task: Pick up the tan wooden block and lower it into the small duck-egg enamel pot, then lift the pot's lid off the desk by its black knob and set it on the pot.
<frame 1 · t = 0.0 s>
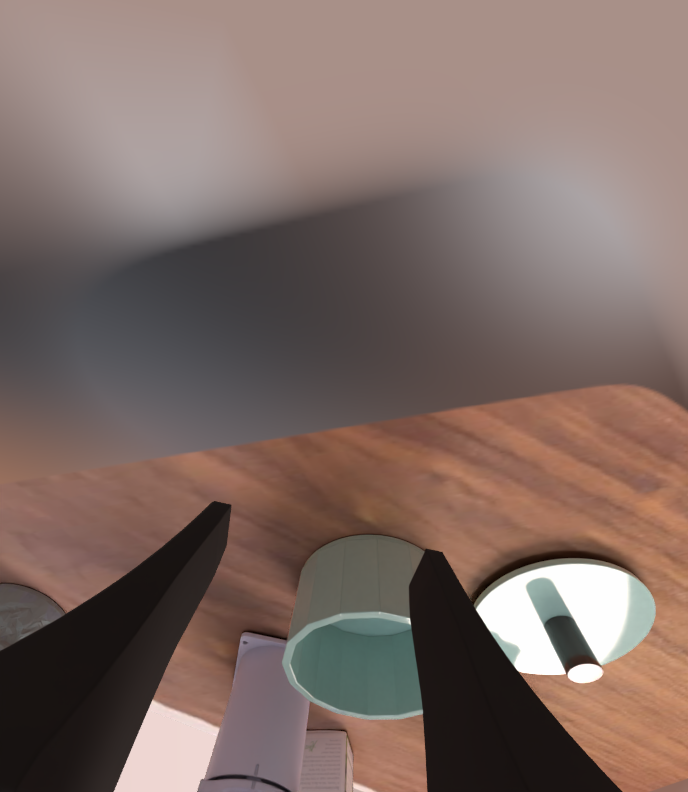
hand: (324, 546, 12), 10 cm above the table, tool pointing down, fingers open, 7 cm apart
drinking glass: (28, 612, 32), on the table
pot: (371, 588, 27), on the table
syrup box: (327, 739, 38), on the table
lid: (556, 618, 26), point 1 cm above the table
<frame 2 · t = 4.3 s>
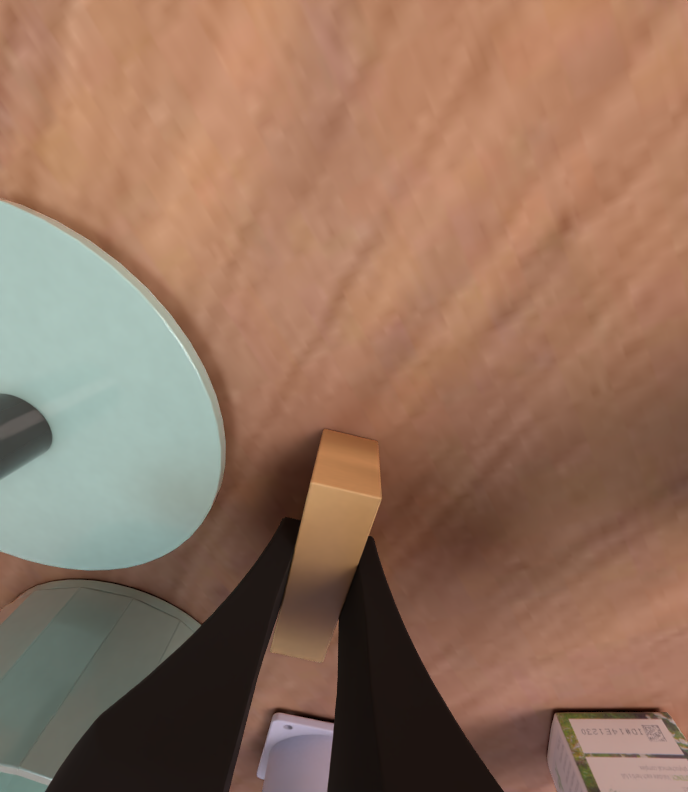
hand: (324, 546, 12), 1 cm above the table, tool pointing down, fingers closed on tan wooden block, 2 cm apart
tan wooden block: (327, 517, 13), on the table, touching gripper
pot: (120, 655, 18), on the table
syrup box: (598, 729, 18), on the table
lid: (31, 418, 11), point 1 cm above the table
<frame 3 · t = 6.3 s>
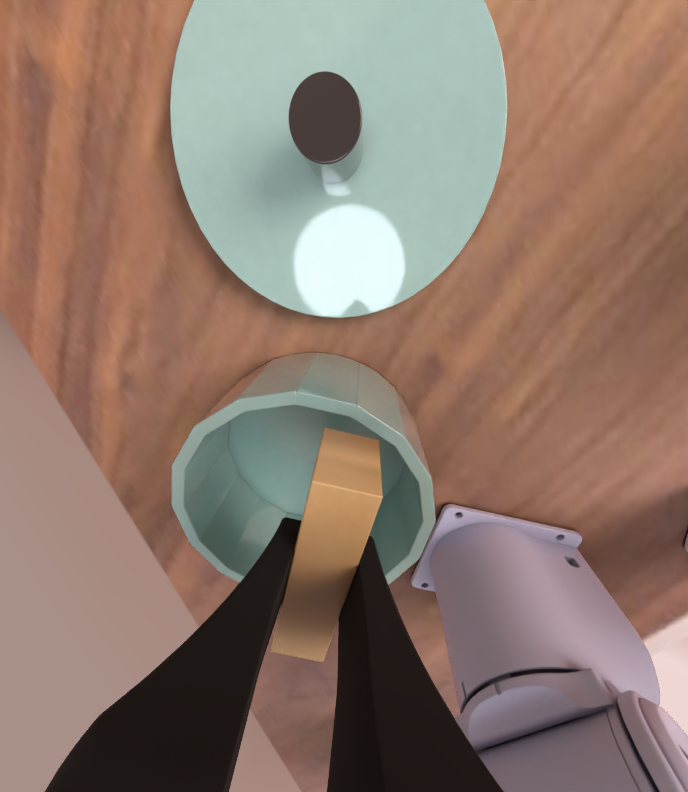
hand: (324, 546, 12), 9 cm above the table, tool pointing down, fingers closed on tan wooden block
tan wooden block: (328, 516, 13), point 7 cm above the table, touching gripper
pot: (318, 445, 21), on the table
lid: (335, 153, 14), point 1 cm above the table
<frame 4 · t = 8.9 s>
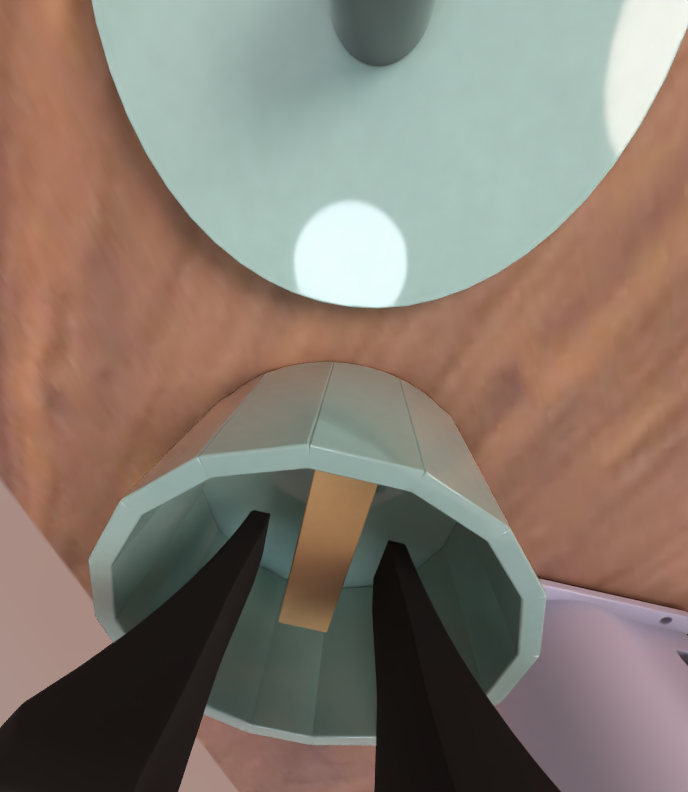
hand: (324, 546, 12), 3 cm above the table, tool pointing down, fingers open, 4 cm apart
tan wooden block: (331, 499, 14), resting on pot
pot: (331, 492, 14), on the table
lid: (381, 12, 8), point 1 cm above the table
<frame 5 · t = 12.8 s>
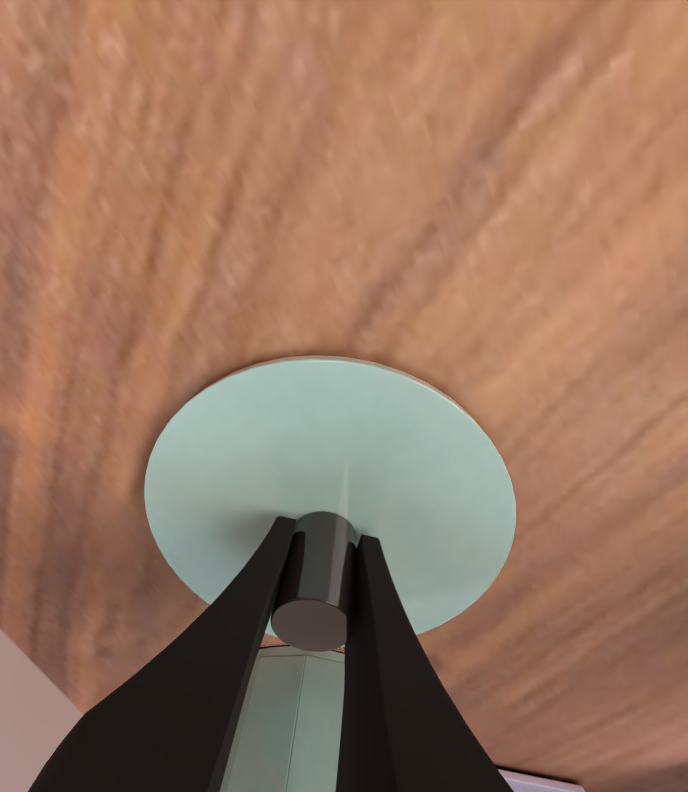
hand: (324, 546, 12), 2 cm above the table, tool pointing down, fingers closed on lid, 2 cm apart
pot: (308, 708, 19), on the table
lid: (326, 525, 13), point 1 cm above the table, touching gripper
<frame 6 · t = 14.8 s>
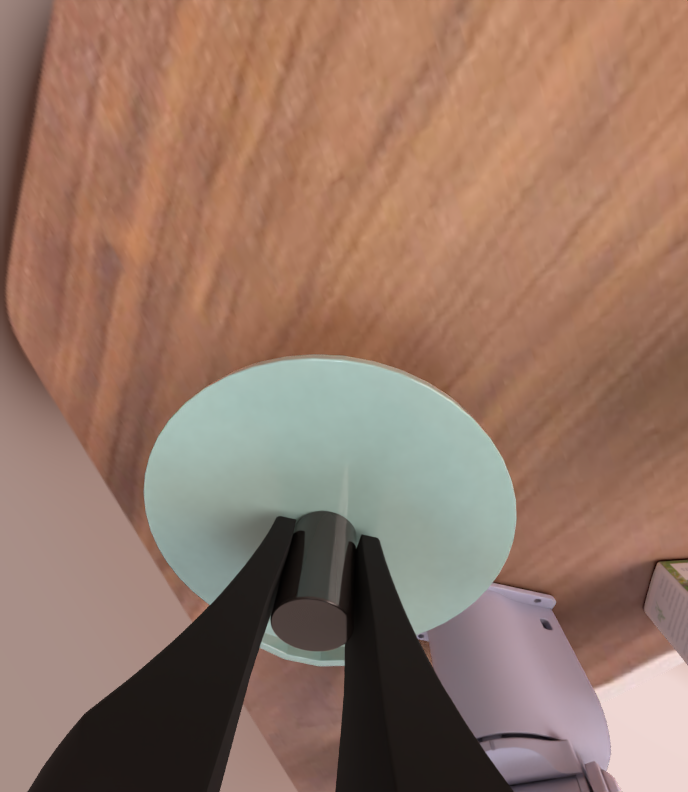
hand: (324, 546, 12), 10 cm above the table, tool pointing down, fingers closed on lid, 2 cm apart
pot: (330, 524, 24), on the table
syrup box: (686, 580, 24), on the table
lid: (326, 524, 13), point 9 cm above the table, touching gripper
when the fingers open (7 cm above the table, at t = 17.0 s): lid stays where it is, resting on pot.
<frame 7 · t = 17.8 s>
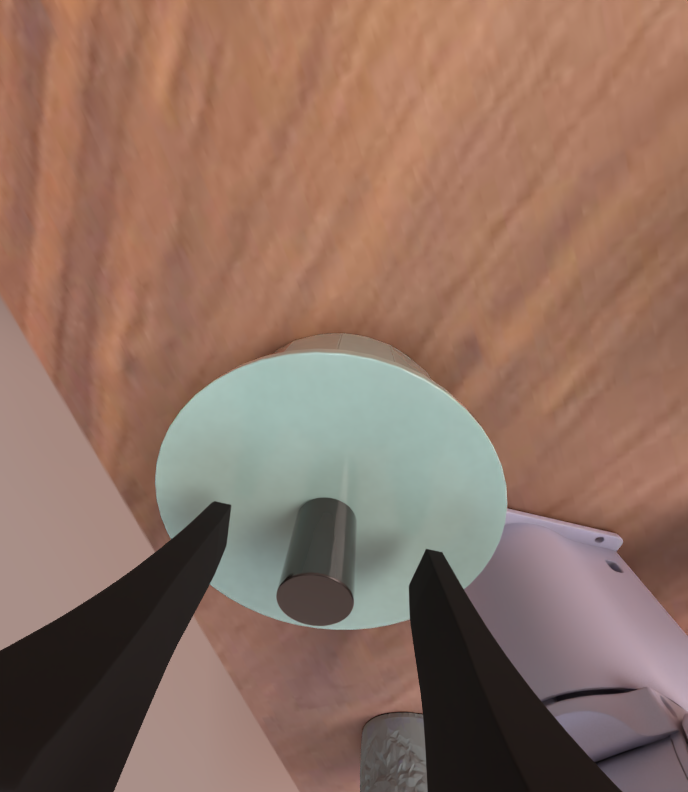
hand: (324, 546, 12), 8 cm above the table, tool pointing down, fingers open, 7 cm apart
drinking glass: (407, 732, 32), on the table
pot: (339, 437, 19), on the table
lid: (327, 511, 13), point 6 cm above the table, touching pot
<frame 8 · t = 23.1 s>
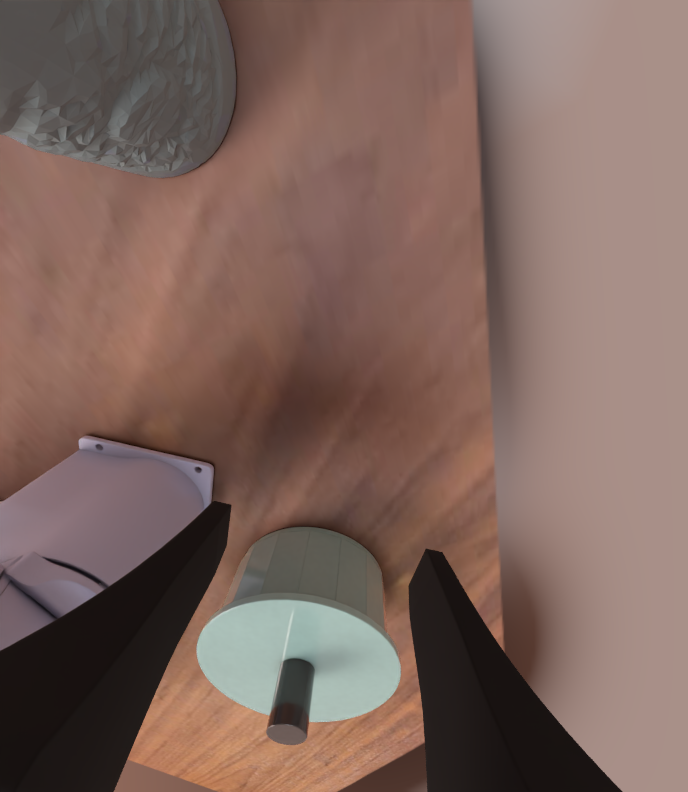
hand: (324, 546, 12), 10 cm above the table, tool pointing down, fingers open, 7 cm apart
drinking glass: (143, 69, 15), on the table
pot: (311, 580, 28), on the table
lid: (298, 660, 22), point 6 cm above the table, touching pot
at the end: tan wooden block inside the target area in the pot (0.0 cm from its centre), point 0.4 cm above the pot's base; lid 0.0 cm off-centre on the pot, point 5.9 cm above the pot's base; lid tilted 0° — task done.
